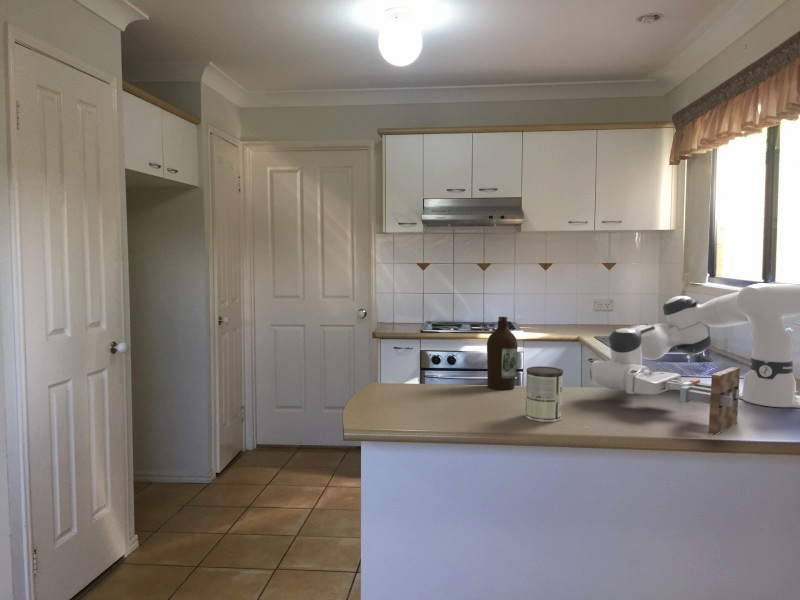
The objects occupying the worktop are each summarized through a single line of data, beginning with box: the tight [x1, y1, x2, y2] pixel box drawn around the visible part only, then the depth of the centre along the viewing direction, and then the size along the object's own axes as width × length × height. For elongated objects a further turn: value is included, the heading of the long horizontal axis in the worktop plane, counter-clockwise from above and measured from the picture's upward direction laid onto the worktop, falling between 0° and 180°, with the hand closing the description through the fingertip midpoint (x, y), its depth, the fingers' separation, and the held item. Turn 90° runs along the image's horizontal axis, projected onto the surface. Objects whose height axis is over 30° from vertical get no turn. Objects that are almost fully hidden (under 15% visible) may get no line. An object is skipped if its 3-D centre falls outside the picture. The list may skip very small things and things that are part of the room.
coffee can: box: [525, 365, 564, 423], centre depth 183 cm, size 10×10×14 cm
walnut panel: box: [708, 366, 741, 435], centre depth 175 cm, size 17×2×16 cm, turn 135°
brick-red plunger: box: [689, 378, 740, 399], centre depth 182 cm, size 4×12×4 cm, turn 45°
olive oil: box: [486, 316, 519, 391], centre depth 222 cm, size 11×11×25 cm
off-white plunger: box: [682, 381, 732, 396], centre depth 178 cm, size 4×12×4 cm, turn 45°
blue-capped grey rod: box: [679, 386, 733, 407], centre depth 173 cm, size 4×12×4 cm, turn 45°
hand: (684, 386), depth 188 cm, fingers closed
